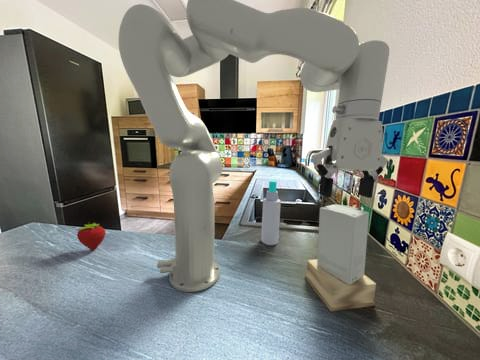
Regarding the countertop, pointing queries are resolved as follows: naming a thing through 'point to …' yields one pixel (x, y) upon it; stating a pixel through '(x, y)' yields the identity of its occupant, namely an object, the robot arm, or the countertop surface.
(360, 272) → the skincare box
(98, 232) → the strawberry
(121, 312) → the countertop surface
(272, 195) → the spray bottle
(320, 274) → the riser block
